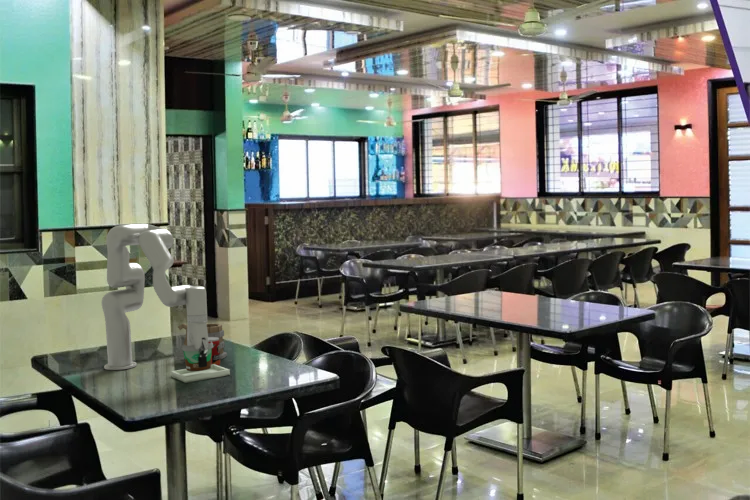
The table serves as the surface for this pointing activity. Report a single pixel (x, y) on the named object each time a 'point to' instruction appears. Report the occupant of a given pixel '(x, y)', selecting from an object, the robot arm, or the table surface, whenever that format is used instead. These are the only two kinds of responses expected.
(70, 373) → the table surface
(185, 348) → the food container
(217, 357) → the canned food
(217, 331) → the tankard
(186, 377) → the tray
